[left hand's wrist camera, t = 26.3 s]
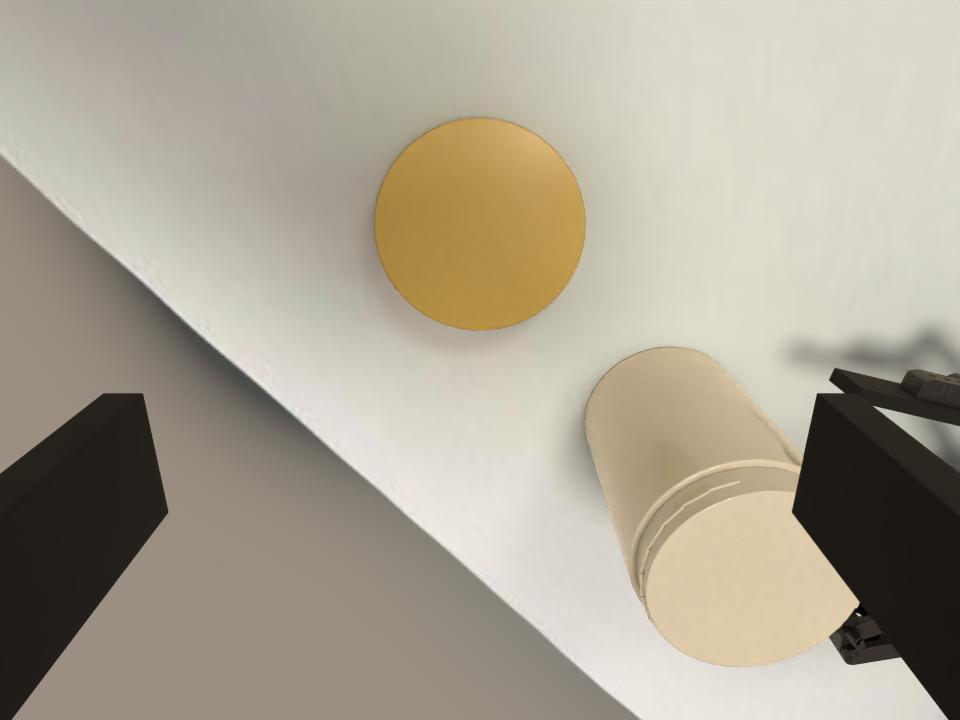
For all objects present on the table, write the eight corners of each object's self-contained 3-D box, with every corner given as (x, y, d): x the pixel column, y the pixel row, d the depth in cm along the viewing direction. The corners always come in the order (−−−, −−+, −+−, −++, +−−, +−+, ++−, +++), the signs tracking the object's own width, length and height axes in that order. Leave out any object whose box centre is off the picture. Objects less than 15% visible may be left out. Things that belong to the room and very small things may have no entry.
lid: (563, 96, 34) (568, 96, 32) (592, 298, 39) (598, 309, 37) (356, 142, 35) (348, 144, 33) (407, 335, 40) (403, 347, 38)
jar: (570, 475, 43) (614, 659, 29) (602, 336, 40) (672, 469, 25) (715, 493, 44) (828, 683, 30) (760, 358, 40) (915, 500, 26)
